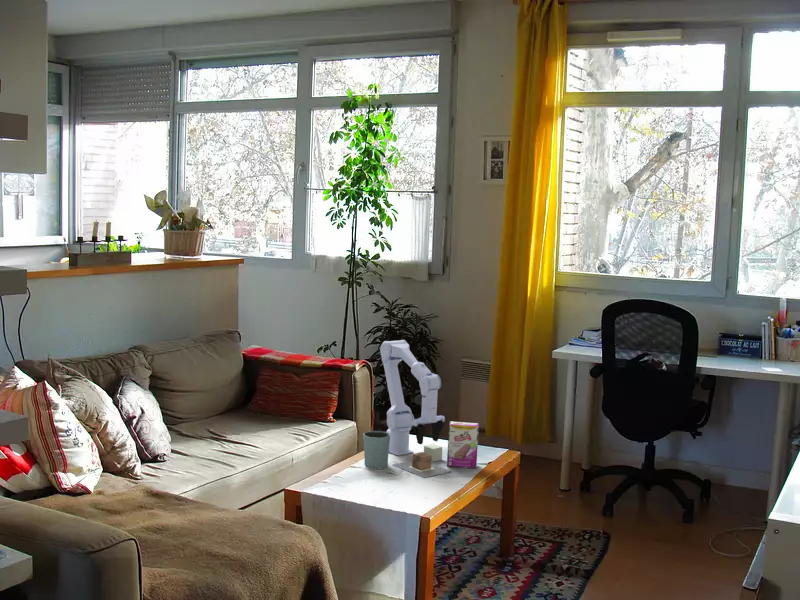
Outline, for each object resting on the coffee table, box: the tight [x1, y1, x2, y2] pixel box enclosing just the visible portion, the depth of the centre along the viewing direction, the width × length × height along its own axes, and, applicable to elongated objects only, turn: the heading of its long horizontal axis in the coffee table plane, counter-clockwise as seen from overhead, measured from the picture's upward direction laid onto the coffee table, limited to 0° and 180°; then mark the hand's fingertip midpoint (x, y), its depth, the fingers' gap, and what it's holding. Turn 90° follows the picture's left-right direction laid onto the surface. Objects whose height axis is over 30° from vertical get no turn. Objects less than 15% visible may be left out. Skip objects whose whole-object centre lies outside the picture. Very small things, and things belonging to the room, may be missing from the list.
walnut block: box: [411, 451, 432, 470], centre depth 315 cm, size 5×5×5 cm
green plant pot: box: [362, 430, 390, 470], centre depth 317 cm, size 10×10×12 cm
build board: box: [392, 460, 452, 479], centre depth 315 cm, size 18×13×1 cm
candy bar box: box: [446, 420, 480, 469], centre depth 320 cm, size 11×5×16 cm, turn 84°
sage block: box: [423, 443, 443, 462], centre depth 328 cm, size 5×5×5 cm
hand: (427, 442), depth 321 cm, fingers open, 7 cm apart
